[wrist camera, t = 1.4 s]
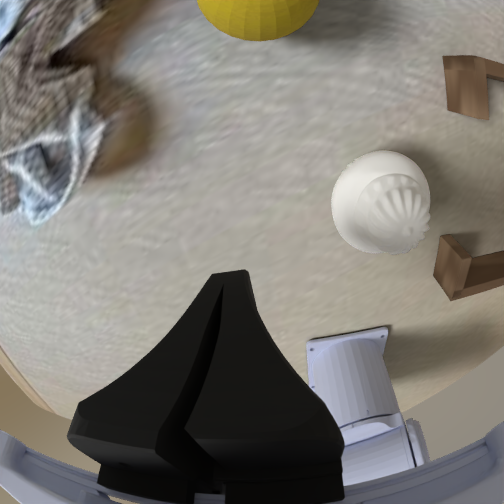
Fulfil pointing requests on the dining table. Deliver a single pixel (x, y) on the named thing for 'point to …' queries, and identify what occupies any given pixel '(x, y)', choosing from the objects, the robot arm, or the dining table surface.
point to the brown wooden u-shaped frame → (450, 251)
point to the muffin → (382, 203)
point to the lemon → (258, 17)
